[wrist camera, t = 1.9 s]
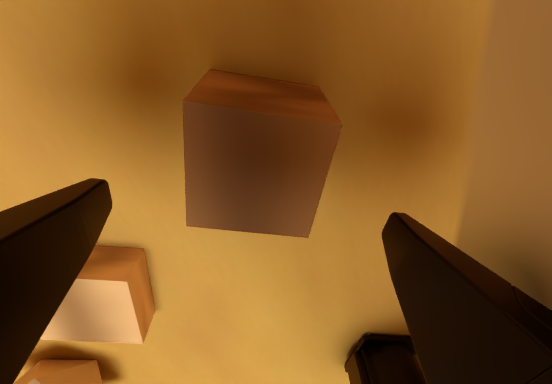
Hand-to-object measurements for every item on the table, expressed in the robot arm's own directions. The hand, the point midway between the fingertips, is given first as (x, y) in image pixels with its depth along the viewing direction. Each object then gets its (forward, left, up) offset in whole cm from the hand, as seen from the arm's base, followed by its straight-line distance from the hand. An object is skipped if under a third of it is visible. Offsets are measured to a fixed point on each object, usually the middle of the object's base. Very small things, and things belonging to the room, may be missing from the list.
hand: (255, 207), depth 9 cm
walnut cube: (0, 0, -6) cm, 6 cm away
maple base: (+10, +13, -7) cm, 18 cm away
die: (+15, +27, -6) cm, 32 cm away
